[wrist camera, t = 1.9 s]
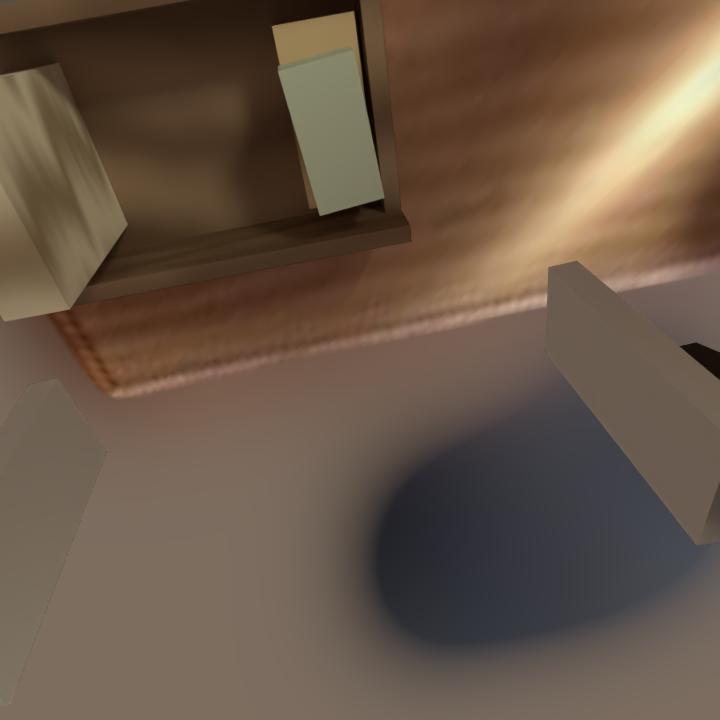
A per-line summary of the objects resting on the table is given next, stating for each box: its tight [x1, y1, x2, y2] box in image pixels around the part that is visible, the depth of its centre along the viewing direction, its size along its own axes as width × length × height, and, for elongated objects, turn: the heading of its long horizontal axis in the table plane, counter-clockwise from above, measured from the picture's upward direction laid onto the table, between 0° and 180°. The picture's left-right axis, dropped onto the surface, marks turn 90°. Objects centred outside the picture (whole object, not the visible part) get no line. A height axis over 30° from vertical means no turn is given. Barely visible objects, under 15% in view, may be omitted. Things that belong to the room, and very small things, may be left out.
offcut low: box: [272, 10, 366, 209], centre depth 29 cm, size 9×4×4 cm, turn 8°
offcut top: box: [278, 46, 385, 216], centre depth 26 cm, size 7×4×2 cm, turn 13°
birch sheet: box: [0, 62, 128, 322], centre depth 25 cm, size 9×3×11 cm, turn 8°
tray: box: [0, 0, 412, 306], centre depth 28 cm, size 14×22×6 cm, turn 98°
